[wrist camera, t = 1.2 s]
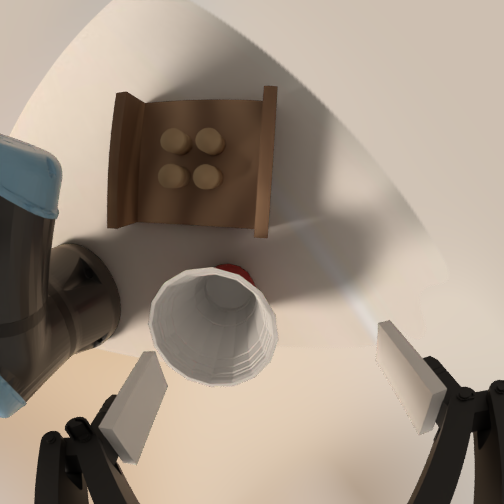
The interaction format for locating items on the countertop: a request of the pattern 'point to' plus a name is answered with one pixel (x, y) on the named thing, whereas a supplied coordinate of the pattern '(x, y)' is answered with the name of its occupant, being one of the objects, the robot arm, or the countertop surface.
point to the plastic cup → (213, 326)
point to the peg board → (192, 162)
